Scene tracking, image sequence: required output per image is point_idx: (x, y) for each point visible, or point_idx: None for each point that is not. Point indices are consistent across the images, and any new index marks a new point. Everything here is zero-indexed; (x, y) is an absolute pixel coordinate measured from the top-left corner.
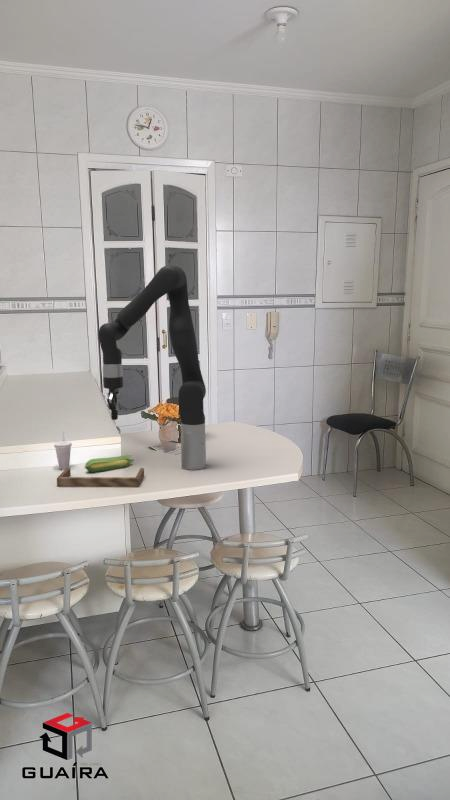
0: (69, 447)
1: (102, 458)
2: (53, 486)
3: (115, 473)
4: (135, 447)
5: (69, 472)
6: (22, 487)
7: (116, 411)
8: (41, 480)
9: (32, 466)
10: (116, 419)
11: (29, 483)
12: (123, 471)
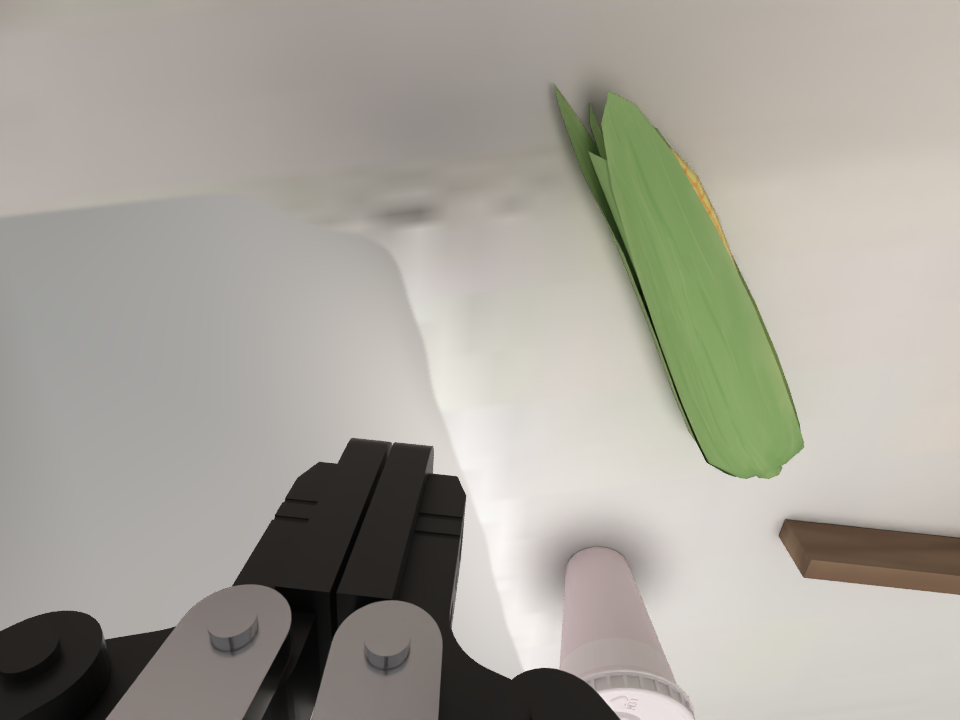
0: (650, 669)
1: (728, 378)
2: None
3: (826, 228)
4: (28, 130)
5: (819, 542)
6: (918, 697)
7: (396, 583)
8: (823, 641)
9: None
10: (431, 452)
11: (858, 680)
12: (788, 163)
